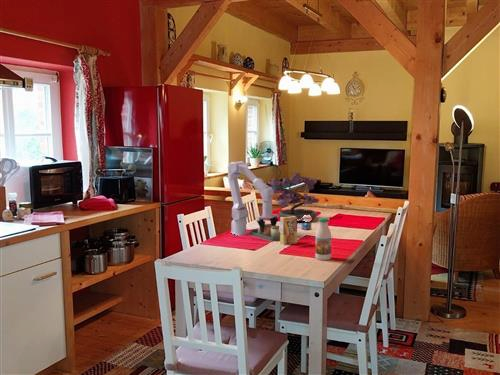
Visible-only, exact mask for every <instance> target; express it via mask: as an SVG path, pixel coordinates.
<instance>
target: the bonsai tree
mask: <svg viewBox="0 0 500 375" xmlns="http://www.w3.org/2000/svg"><path fill="white" fill-rule="evenodd" d="M317 181H318V180H317V179H315V178H314V179H313V178H312V177H309V176H308V177H306V176H301V174H300V173H298V172H296V173H293V175H292V176H291V177H290V178H288V177H284V178H283V180H282V181H281V180H279V179H277V178H272V180H271V181H268V182H267V183H268V184H267V185H270V186H271V187H272V186H273V187H274V188H272V189H273V190H274V195H278V196H274V198H273V199H274V201H276V202H277V203H278V207H280V208H282V207H283V208H285V207H287V206H288V204H289V205H293V206H292V207H291V208H289V209H288V208H287V209H284V210H279V211H278V217H280V218H281V217H290V216H295V217H297V219H301V218H302V217H303V216H304V215H306V214H308V215H310V216H311V217H312V220H311V221H313V219H315V218H316V217H317V214H318V212H316V211H315V210H314V209H304V208H299V207H301V206H304V205H309V204H310V205H311V204H315V203H316V204H317V203H319V202H320V200H319V198H316V197H315V196H314V195H313V196H312V195H311V196H310V195H308V193H303V194H301V193H299V192H297V191H295V190H294V189H292V187H291V186H292V185H294V184H295V185H299V184H300V183H304V184H302V185H301V187H300V191H303V190H304V189H307V190H308V191H312V190H313V189H315V186H314V185H315V184H317V183H318V182H317ZM287 185H288V188H286V187H284V186H287Z"/></svg>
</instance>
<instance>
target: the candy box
mask: <svg viewBox="0 0 500 375" xmlns="http://www.w3.org/2000/svg"><path fill="white" fill-rule="evenodd" d="M279 234H280V240H279V241H280V242H279V244H281V245H283V246H284V245H285V246H286V245H294V244H297V243H298V222H297V217H295V216H290V217H280V218H279Z"/></svg>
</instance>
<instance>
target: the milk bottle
mask: <svg viewBox="0 0 500 375" xmlns="http://www.w3.org/2000/svg"><path fill="white" fill-rule="evenodd" d="M314 249H315V252H314V253H315V254H314V257H315V259H316V260H318V261H329V260H331V259H332V232H331V230H330V227H329V218H327V217H319V218H318V226H317V229H316V232H315V248H314Z"/></svg>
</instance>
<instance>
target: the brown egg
mask: <svg viewBox="0 0 500 375" xmlns="http://www.w3.org/2000/svg"><path fill="white" fill-rule="evenodd" d="M277 234H280V225H276V226H271V237H272V235H277Z"/></svg>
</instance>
